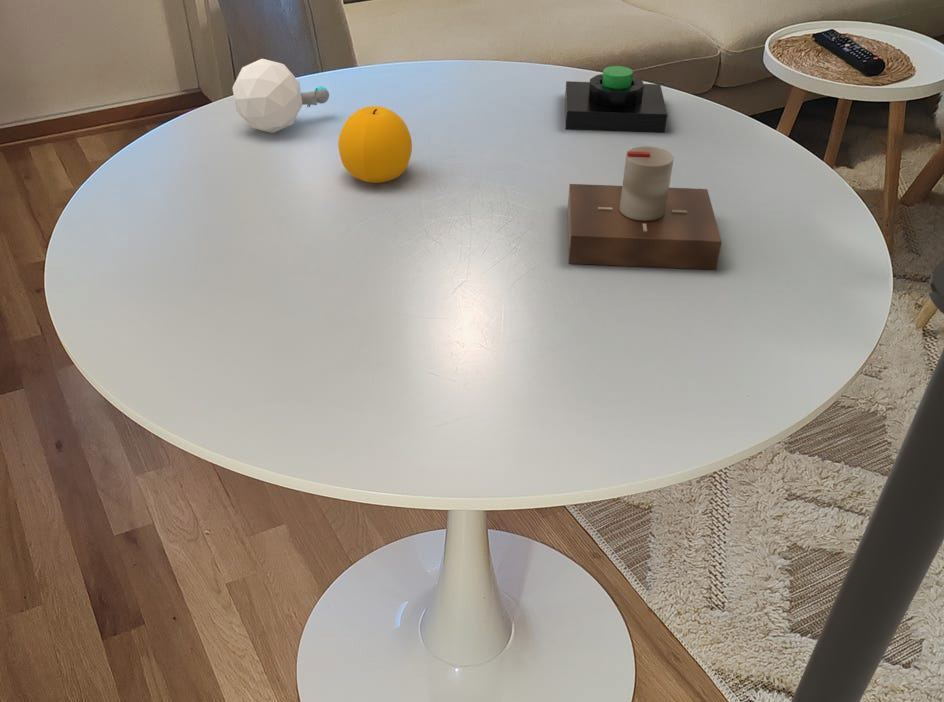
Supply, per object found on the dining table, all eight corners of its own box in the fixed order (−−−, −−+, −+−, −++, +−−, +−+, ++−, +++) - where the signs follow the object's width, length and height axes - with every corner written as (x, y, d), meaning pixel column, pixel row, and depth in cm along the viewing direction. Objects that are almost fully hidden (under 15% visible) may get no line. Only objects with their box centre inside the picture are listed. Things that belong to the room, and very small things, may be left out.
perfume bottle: (215, 91, 111) (304, 83, 117) (241, 150, 110) (329, 139, 116) (229, 45, 104) (323, 40, 110) (256, 107, 103) (349, 99, 109)
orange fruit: (369, 155, 106) (365, 89, 101) (426, 171, 103) (425, 103, 98) (326, 181, 101) (319, 112, 96) (385, 198, 98) (381, 128, 93)
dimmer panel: (702, 216, 96) (707, 187, 94) (715, 269, 88) (722, 239, 86) (567, 210, 96) (569, 182, 94) (568, 263, 88) (571, 233, 86)
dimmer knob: (661, 200, 92) (671, 143, 88) (667, 221, 88) (677, 163, 84) (617, 199, 92) (624, 142, 88) (621, 220, 88) (629, 162, 85)
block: (657, 101, 119) (662, 69, 116) (664, 132, 112) (669, 99, 109) (564, 98, 120) (567, 66, 117) (565, 129, 112) (568, 95, 110)
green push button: (630, 80, 114) (632, 66, 113) (632, 91, 112) (634, 76, 111) (601, 79, 115) (602, 65, 113) (602, 90, 112) (603, 75, 111)
